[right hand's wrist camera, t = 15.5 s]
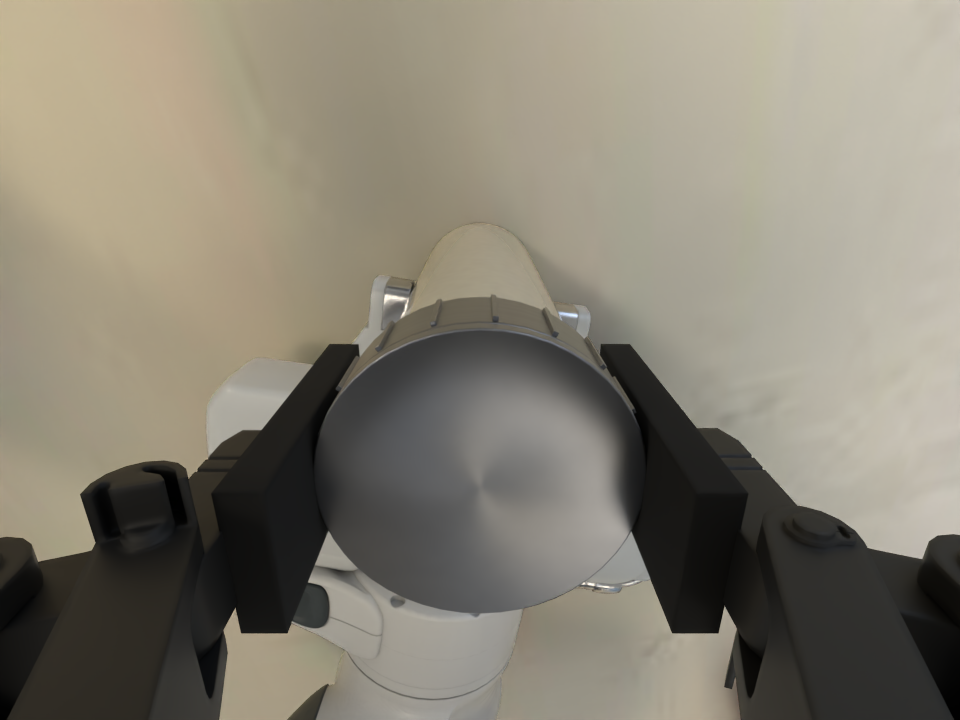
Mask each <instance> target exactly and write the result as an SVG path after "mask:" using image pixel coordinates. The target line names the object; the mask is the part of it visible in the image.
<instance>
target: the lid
mask: <svg viewBox="0 0 960 720" xmlns="http://www.w3.org/2000/svg"><path fill="white" fill-rule="evenodd" d="M336 390H337V391H339V393H338V395H337V397H336V398H335V400H334V402H333V404H332V405H331V407H330V408H329V410H328V412H327V414H326V416H325V419H324V421H323V423H322V426H321V428H320V430H319V433H318V438H317V442H316V446H315V451H314V461H313V473H314V481H315V489H316V496H317V503H318V507H319V510H320V512H321V515H322V518H323V520H324V523H325V525H326V527H327V529H328V530H329V532H330V534H331V536H332V538H333V539H334V541H335V542H336V544H337V545H338V546H339V548H340V549H341V550H342V552H343V553H344V554H345V555H346V556H347V558H348V559H349V560H350V561H351V562H352V563H353V564H354V565H355V566H356V567H357V568H358V569H359V570H361V571H362V572H363V573H364V574H366V575H367V576H368V577H369V578H370V579H372V580H373V581H375V582H376V583H378V584H379V585H381V586H382V587H384V588H386V589H387V590H389V591H391V592H393V593H395V594H397V595H399V596H401V597H403V598H405V599H408V600H411V601H414V602H416V603H419V604H422V605H425V606H429V607H433V608H437V609H441V610H447V611H454V612H460V613H499V612H506V611H513V610H519V609H523V608H527V607H531V606H535V605H538V604H541V603H544V602H546V601H549V600H552V599H554V598H557V597H559V596H561V595H563V594H565V593H567V592H569V591H571V590H573V589H574V588H576V587H577V586H579V585H580V584H582V583H584V582H585V581H587V580H588V579H590V578H591V577H592V576H593V575H594V574H596V573H597V572H598V571H599V570H600V569H602V568H603V567H604V566H605V565H606V564H607V563H608V562H609V561H610V560H611V558H612V557H613V556H614V555H615V554H616V553H617V552H618V550H619V549H620V548H621V546H622V545H623V543H624V542H625V541H626V539H627V538H628V536H629V534H630V532H631V530H632V529H633V527H634V525H635V523H636V521H637V518H638V515H639V512H640V510H641V507H642V500H643V493H644V485H645V477H646V469H647V460H646V450H645V445H644V441H643V437H642V434H641V430H640V427H639V425H638V423H637V421H636V418H635V416H634V414H635V413H636V411H635V408H634V407H633V405H632V403H631V402H630V400H629V399H628V397H627V395H626V394H625V392H624V390H623V389H622V387H621V386H620V384H619V382H618V381H617V379H616V377H615V376H614V377H612V376H611V375H610V373H609V371H608V370H607V366H606V365H605V363H604V361H603V360H602V358H601V356H600V355H599V353H598V351H597V350H596V348H595V346H594V345H593V343H592V341H591V340H590V339H589V337H588V336H587V337H586V338H585V339H584V338H583V337H582V336H581V335H580V334H579V333H578V332H577V331H575V330H574V329H573V328H572V327H571V326H569V325H568V324H566V323H565V322H563V321H562V320H560V319H559V318H557V317H556V316H554V315H552V314H550V312H549V309H547V308H545V307H544V308H543V310H541V309H539V308H537V307H534V306H531V305H528V304H525V303H522V302H518V301H513V300H507V299H502V298H497V297H496V295H495V294H491V297H469V298H458V299H453V300H447V301H442V299H438V300H436V303H435V304H432V305H430V306H427V307H424V308H421V309H419V310H417V311H415V312H413V313H411V314H409V315H406V316H404V317H403V318H401V319H400V320H398V321H397V322H395V323H394V322H393V320H392V321H390V322H389V323H388V325H387V327H386V329H385V330H384V331H383V332H382V333H381V334H380V335H379V336H378V337H377V338H376V339H374V341H373V342H372V343H371V344H370V345H369V346H368V348H367V349H366V350H365V351H364V352H363V354H362V355H361V357H358V356H356V357H355V359H354V360H353V362H352V363H351V365H350V367H349V368H348V370H347V372H346V373H345V375H344V376H343V378H342V380H341V381H340V383H339V385H338V386H337V388H336Z"/></svg>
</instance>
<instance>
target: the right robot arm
mask: <svg viewBox="0 0 960 720" xmlns="http://www.w3.org/2000/svg"><path fill="white" fill-rule="evenodd" d="M356 356H358V357H360V353H359V344H329V346H328V347H327V348H326V350H325V351H324V352H323V353H322V355H321V356H320V357H319V358H318V360H317V361H316V362H315V363H314V365H313V366H312V367H311V368H310V370H309V371H308V372H307V373H306V375H305V376H304V377H303V378H302V380H301V381H300V382H299V383H298V385H297V386H296V387H295V388H294V390H293V391H292V392H291V394H290V395H289V396H288V397H287V399H286V400H285V401H284V402H283V404H282V405H281V406H280V407H279V409H278V410H277V411H276V412H275V414H274V415H273V416H272V417H271V419H270V420H269V421H268V422H267V424H266V425H265V426H264V427H263V429H262V430H242V431H240V432H238V433H237V434H235V435H233V436H232V437H230V438H228V439H227V440H225V441H223V442H222V443H221V444H220V445H219V446H218V447H217V448H216V449H215V450H214V451H213V453H212V454H211V455H210V456H209V459H208V460H205V461H204V463H203V464H202V465H201V466H200V467H199V468H198V472H195V473H194V474H193V475H192V476H191V477H190V478H189V479H188V476H187V471H186V468H184V467H183V466H181V465H180V464H179V463H175V462H169V461H150V462H143V463H139V464H134V465H130V466H126V467H123V468H121V469H118V470H116V471H113V472H110V473H108V474H106V475H104V476H102V477H101V478H99V479H98V480H96V481H94V482H93V483H91V484H90V485H89V486H88V487H87V488H86V489H85V490H84V491H83V492H82V493H81V494H80V496H81V499H82V502H83V505H84V508H85V511H86V514H87V517H88V520H89V524H90V527H91V530H92V533H93V536H94V539H95V542H96V543H95V545H94V547H93V549H92V551H88V552H84V553H79V554H74V555H70V556H65V557H60V558H55V559H50V560H45V561H40V562H38V560H37V558H36V555H35V552H34V550H33V547H32V544H31V543H29V542H28V541H26V540H25V539H23V538H14V537H3V538H0V720H219V717H220V709H221V701H222V693H223V685H224V677H225V669H226V661H227V654H228V652H227V645H226V639H225V635H224V631H223V629H224V628H225V626H226V624H227V622H228V620H229V618H230V617H231V615H232V613H233V611H234V609H235V607H236V611H237V616H238V621H239V625H240V630H241V633H288V630H289V628H290V625H291V623H292V620H293V618H294V615H295V613H296V611H297V608H298V606H299V603H300V601H301V598H302V596H303V593H304V591H305V588H306V586H307V583H308V581H309V578H310V576H311V573H312V571H313V568H314V566H315V563H316V561H317V558H318V556H319V553H320V551H321V548H322V546H323V543H324V541H325V539H326V536H327V534H328V531H329V530H328V529H327V527H326V525H325V523H324V520H323V518H322V515H321V512H320V510H319V507H318V503H317V496H316V489H315V481H314V473H313V461H314V451H315V446H316V442H317V438H318V433H319V430H320V428H321V426H322V423H323V421H324V419H325V416H326V414H327V412H328V410H329V408H330V407H331V405H332V404H333V402H334V400H335V398H336V397H337V395H338V393H339V391H337V390H336V388H337V386H338V385H339V383H340V381H341V380H342V378H343V376H344V375H345V373H346V372H347V370H348V368H349V367H350V365H351V363H352V362H353V360H354V359H355V357H356ZM600 356H601V358H602V360H603V361H604V363H605V365H606V366H607V370H608V371H609V373H610V375H611V376H612V377H614V376H615V377H616V379H617V381H618V382H619V384H620V386H621V387H622V389H623V390H624V392H625V394H626V395H627V397H628V399H629V400H630V402H631V403H632V405H633V407H634V408H635V411H636V413H635V414H634V416H635V418H636V421H637V423H638V425H639V427H640V430H641V434H642V437H643V441H644V445H645V450H646V460H647V469H646V477H645V485H644V493H643V500H642V507H641V510H640V512H639V515H638V518H637V521H636V523H635V525H634V527H633V529H632V530H631V532H632V534H633V537H634V539H635V542H636V544H637V547H638V549H639V552H640V554H641V557H642V559H643V562H644V564H645V567H646V569H647V572H648V574H649V577H650V579H651V582H652V584H653V587H654V589H655V592H656V594H657V596H658V599H659V601H660V604H661V606H662V609H663V611H664V614H665V616H666V619H667V621H668V624H669V626H670V629H671V631H672V633H719V628H720V624H721V619H722V614H723V610H724V605H725V607H726V609H727V611H728V613H729V614H730V616H731V618H732V620H733V622H734V624H735V625H736V627H737V631H736V635H735V639H734V644H733V648H732V652H731V657H730V661H729V665H728V670H727V674H726V680H725V686H724V687H726V688H729V689H732V687H733V683H734V679H735V677H736V684H737V692H738V700H739V707H740V715H741V720H960V535H955V534H952V535H940V536H937V537H935V538H934V539H932V540H931V541H929V543H928V546H927V548H926V551H925V554H924V556H923V559H917V558H912V557H907V556H902V555H898V554H893V553H888V552H883V551H878V550H873V549H869V548H867V546H866V544H865V542H864V541H863V540H862V539H861V537H860V536H859V535H858V534H857V532H856V531H855V530H854V529H852V528H851V527H849V526H848V525H846V524H845V523H844V522H842V521H841V520H839V519H837V518H835V517H833V516H830V515H828V514H826V513H824V512H822V511H818V510H814V509H810V508H807V507H803V506H797V505H796V504H795V502H794V501H793V500H792V499H791V498H790V497H789V496H788V495H787V494H786V493H785V491H784V490H783V489H782V488H781V487H780V486H779V485H778V484H777V483H776V482H775V480H774V479H773V478H772V477H771V476H770V475H769V474H768V473H767V472H766V470H762V466H761V465H760V464H759V463H758V462H757V461H756V459H755V458H752V457H751V454H750V453H749V452H748V451H747V450H746V448H745V447H744V446H743V445H742V444H741V443H740V442H739V441H738V440H736V439H735V438H733V437H731V436H730V435H728V434H726V433H725V432H723V431H721V430H719V429H718V428H696V427H695V425H694V424H693V423H692V422H691V420H690V419H689V418H688V417H687V415H686V414H685V413H684V412H683V410H682V409H681V408H680V407H679V405H678V404H677V403H676V402H675V400H674V399H673V398H672V396H671V395H670V394H669V393H668V391H667V390H666V389H665V388H664V386H663V385H662V384H661V383H660V381H659V380H658V379H657V378H656V376H655V375H654V374H653V373H652V371H651V370H650V369H649V368H648V366H647V365H646V364H645V363H644V361H643V360H642V359H641V358H640V356H639V355H638V354H637V352H636V351H635V350H634V349H633V347H632V346H631V345H630V344H601V349H600Z"/></svg>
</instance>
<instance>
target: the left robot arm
mask: <svg viewBox="0 0 960 720" xmlns="http://www.w3.org/2000/svg"><path fill="white" fill-rule="evenodd" d="M414 286H415V281H414V280H408V279H402V278H396V277H391V276H384V275H378V276H377V277H376V278H375V280H374V281H373V285H372V290H371V297H370V309H369V321H368V322H367V324H366V325H365V326H364V328H363V329H362V330H361V332H360V333H359V334H358V336H357V337H356V338H355V340H354V341H353V342H352V344H359V353H360V357H361V355H362V354H363V352H364V351H365V350H366V349H367V348H368V346H369V345H370V344H371V343H372V342H373V341H374V339H376V338H377V337H378V336H379V335H380V334H381V333H382V332H383V331H384V330H385V329H386V327H387V325H388V323H389V322H390V321H392V320H393V322H394V323H395V322H397V320H398V318H399V316H400V314H401V312H402V310H403V308H404V306H405V304H406V302H407V300H408V298H409V296H410V294H411V292H412V290H413V288H414ZM553 303H554V305H555V307H556V309H557V311H558V313H559V315H560V317H561V319H562V321H563V322H565V323H566V324H568V325H569V326H571V327H572V328H573V329H574V330H575V331H577V332H578V333H579V334H580V335H581V336H582V337H583V338H584V339H585V338H586V337H587V336H588V332H589V328H590V320H591V315H590V312H589V311H588V309H587V308H586V306H581V305H574V304H568V303H560V302H553ZM312 366H313V364H306V363H299V362H292V361H285V360H278V359H271V358H264V357H258V358H254V359H251V360H250V361H248V362H247V363H246V364H244V365H243V366H242V367H240V368H239V369H238V370H236V371H235V372H234V373H232V374H231V375H230V376H229V377H228V378H227V379H226V380H225V381H224V382H223V383H222V384H221V385H220V386H219V387H218V388H217V389H216V391H215V392H214V393H213V395H212V396H211V398H210V400H209V402H208V405H207V411H206V437H207V451H208V459H209V456H210V455H211V454H212V453H213V451H214V450H215V449H216V448H217V447H218V446H219V445H220V444H221V443H222V442H223V441H225V440H227V439H228V438H230V437H232V436H233V435H235V434H237V433H238V432H240V431H242V430H262V429H263V427H264V426H265V425H266V424H267V422H268V421H269V420H270V419H271V417H272V416H273V415H274V414H275V412H276V411H277V410H278V409H279V407H280V406H281V405H282V404H283V402H284V401H285V400H286V399H287V397H288V396H289V395H290V394H291V392H292V391H293V390H294V388H295V387H296V386H297V385H298V383H299V382H300V381H301V380H302V378H303V377H304V376H305V375H306V373H307V372H308V371H309V370H310V368H311V367H312ZM648 580H650V577H649V574H648V572H647V569H646V567H645V564H644V562H643V559H642V557H641V554H640V552H639V549H638V547H637V544H636V542H635V539H634V537H633V534H632V532H630V534H629V536H628V538H627V539H626V541H625V542H624V543H623V545H622V546H621V548H620V549H619V550H618V552H617V553H616V554H615V555H614V556H613V557H612V558H611V560H610V561H609V562H608V563H607V564H606V565H605V566H604V567H603V568H602V569H600V570H599V571H598V572H597V573H596V574H594V575H593V576H592V577H591V578H590V579H588V580H587V581H585V582H584V583H582V584H580V585H579V586H577V587H576V588H580V589H583V588H584V589H589V590H592V591H593V592H597V593H604V594H614V593H619V592H620V591H621V588H622V587H627V586H632V585H636V584H638V583H640V582H642V581H648ZM522 613H523V609H519V610H513V611H506V612H499V613H460V612H454V611H447V610H441V609H437V608H433V607H429V606H425V605H422V604H419V603H416V602H414V601H411V600H408V599H405V598H403V597H401V596H399V595H397V594H395V593H393V592H391V591H389V590H387V589H386V588H384V587H382V586H381V585H379V584H378V583H376V582H375V581H373V580H372V579H370V578H369V577H368V576H367V575H366V574H364V573H363V572H362V571H361V570H359V569H358V568H357V567H356V566H355V565H354V564H353V563H352V562H351V561H350V560H349V559H348V558H347V556H346V555H345V554H344V553H343V552H342V550H341V549H340V548H339V546H338V545H337V544H336V542H335V541H334V539H333V538H332V536H331V534H330V532H329V531H328V534H327V536H326V539H325V541H324V543H323V546H322V548H321V551H320V553H319V556H318V558H317V561H316V563H315V566H314V568H313V571H312V573H311V576H310V578H309V581H308V583H307V586H306V588H305V591H304V593H303V596H302V598H301V601H300V603H299V606H298V608H297V611H296V613H295V615H294V618H293V620H292V624H294V625H296V626H299V627H301V628H303V629H306V630H308V631H310V632H312V633H314V634H317V635H318V636H320V637H322V638H324V639H326V640H328V641H330V642H332V643H333V644H335V645H337V646H339V647H340V648H342V649H344V652H343V654H342V657H341V659H340V662H339V666H338V670H337V673H336V678H335V683H334V684H333V685H331V686H330V685H328V684H326V685H325V686H323V687H322V688H320V689H319V690H317V691H316V692H315V693H314V694H313V695H311V696H310V697H309V698H308V699H307V700H306V701H305V702H304V703H303V704H302V705H301V706H300V707H299V708H298V709H297V710H296V711H295V712H294V713H293V714H292V715H291V716H290V717H289V718H288V719H287V720H497V716H498V712H499V707H500V701H501V694H502V681H501V675H502V673H503V672H504V670H505V669H506V667H507V665H508V663H509V661H510V658H511V656H512V652H513V649H514V646H515V642H516V637H517V634H518V629H519V625H520V621H521V617H522Z"/></svg>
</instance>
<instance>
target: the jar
mask: <svg viewBox="0 0 960 720" xmlns="http://www.w3.org/2000/svg"><path fill="white" fill-rule="evenodd" d="M491 294H495V295H496V297H497V298H502V299H507V300H513V301H518V302H522V303H525V304H528V305H531V306H534V307H537V308H539V309H541V310H543V308H544V307H545V308H547V309H549V312H550V314H552V315H554V316H556V317H557V318H559V319H560V320H562V319H561V317H560V315H559V313H558V311H557V309H556V307H555V305H554V303H553V301H552V299H551V297H550V295H549V293H548V291H547V289H546V287H545V285H544V283H543V281H542V279H541V277H540V275H539V273H538V271H537V269H536V267H535V265H534V263H533V261H532V259H531V257H530V255H529V253H528V251H527V250H526V248H525V246H524V245H523V244H522V243H521V241H520V240H519V239H518V238H517V237H515V236H514V235H513V234H512V233H510V232H509V231H507V230H505V229H503V228H501V227H498V226H495V225H491V224H485V223H474V224H468V225H464V226H461V227H458V228H456V229H454V230H452V231H451V232H449V233H448V234H446V235H445V236H444V237H443V238H442V239H441V240H440V241H439V242H438V243H437V244H436V246H435V247H434V249H433V250H432V252H431V254H430V256H429V258H428V260H427V262H426V264H425V266H424V268H423V270H422V272H421V274H420V276H419V278H418V280H417V282H416V284H415V286H414V288H413V290H412V292H411V294H410V296H409V298H408V300H407V302H406V304H405V306H404V308H403V310H402V312H401V314H400V316H399V318H398V320H400V319H401V318H403V317H404V316H406V315H409V314H411V313H413V312H415V311H417V310H419V309H421V308H424V307H427V306H430V305H432V304H435V303H436V300H438V299H442V301H447V300H453V299H458V298H469V297H491ZM398 320H397V321H398Z"/></svg>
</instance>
